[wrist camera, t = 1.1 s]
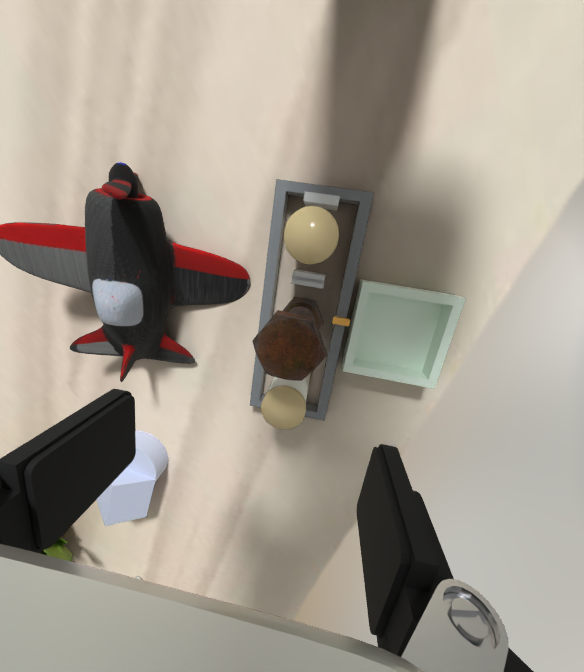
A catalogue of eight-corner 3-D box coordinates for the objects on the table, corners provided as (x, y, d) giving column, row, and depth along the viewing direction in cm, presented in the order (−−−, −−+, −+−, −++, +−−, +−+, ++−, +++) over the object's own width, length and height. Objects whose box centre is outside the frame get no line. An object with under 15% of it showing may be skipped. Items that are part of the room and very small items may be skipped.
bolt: (330, 325, 35) (332, 374, 21) (294, 337, 36) (271, 391, 22) (315, 282, 34) (306, 302, 20) (278, 295, 35) (243, 324, 21)
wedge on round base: (158, 499, 48) (173, 442, 44) (132, 537, 42) (146, 475, 38) (111, 480, 48) (121, 422, 44) (77, 515, 42) (86, 450, 38)
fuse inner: (300, 217, 32) (288, 202, 22) (339, 223, 32) (344, 210, 22) (294, 258, 33) (280, 259, 24) (331, 264, 33) (333, 268, 23)
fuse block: (253, 398, 40) (246, 411, 36) (279, 183, 31) (273, 175, 28) (327, 413, 39) (327, 428, 35) (374, 197, 30) (380, 190, 27)
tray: (360, 279, 33) (363, 281, 30) (453, 294, 32) (465, 298, 29) (341, 362, 36) (342, 371, 34) (425, 378, 36) (434, 388, 33)
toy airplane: (58, 318, 42) (-28, 385, 29) (12, 131, 30) (-167, 107, 17) (240, 340, 47) (234, 405, 35) (262, 189, 35) (264, 204, 23)
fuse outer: (280, 352, 37) (263, 385, 28) (313, 358, 37) (308, 394, 27) (276, 382, 38) (258, 424, 29) (308, 388, 38) (301, 433, 29)
